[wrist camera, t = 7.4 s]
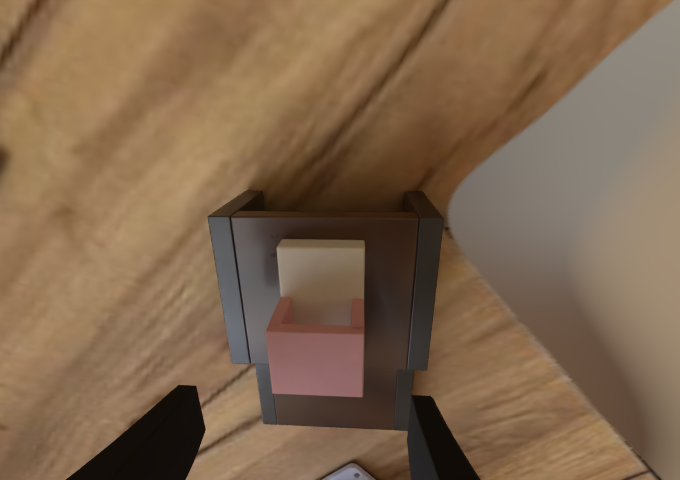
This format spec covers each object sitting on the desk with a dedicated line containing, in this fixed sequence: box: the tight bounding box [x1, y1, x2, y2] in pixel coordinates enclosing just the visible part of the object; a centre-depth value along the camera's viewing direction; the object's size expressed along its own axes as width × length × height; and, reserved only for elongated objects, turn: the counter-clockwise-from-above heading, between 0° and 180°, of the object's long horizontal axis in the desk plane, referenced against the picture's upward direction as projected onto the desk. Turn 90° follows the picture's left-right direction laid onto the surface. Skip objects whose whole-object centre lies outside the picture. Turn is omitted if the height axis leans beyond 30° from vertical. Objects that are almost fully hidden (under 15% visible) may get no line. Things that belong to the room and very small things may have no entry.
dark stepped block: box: [208, 191, 444, 431], centre depth 19 cm, size 16×10×5 cm, turn 0°
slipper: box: [265, 239, 365, 397], centre depth 13 cm, size 6×4×3 cm, turn 0°
